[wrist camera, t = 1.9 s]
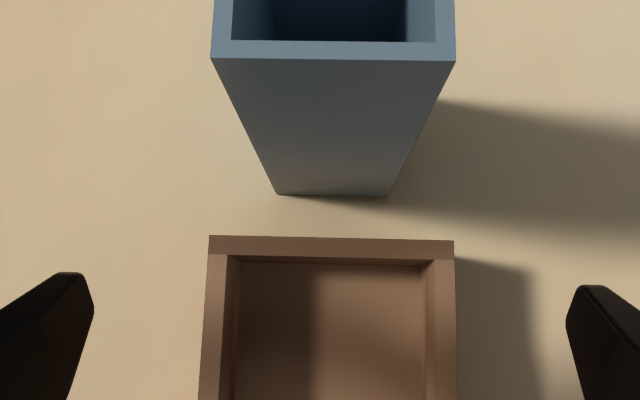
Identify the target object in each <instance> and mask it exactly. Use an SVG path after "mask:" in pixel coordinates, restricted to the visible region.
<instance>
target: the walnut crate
mask: <svg viewBox="0 0 640 400" xmlns="http://www.w3.org/2000/svg"><path fill="white" fill-rule="evenodd" d="M198 400H458V377H457V340H456V303H455V266H454V241H449V240H405V239H361V238H317V237H273V236H229V235H209V247H208V262H207V276H206V290H205V305H204V319H203V333H202V348H201V362H200V376H199V390H198Z"/></svg>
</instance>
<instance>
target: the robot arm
mask: <svg viewBox="0 0 640 400" xmlns="http://www.w3.org/2000/svg"><path fill="white" fill-rule="evenodd" d="M93 315H94V304H93V301H92V298H91V295H90V292H89V289H88V286H87V283H86V280H85V277H84V276H83V275H82V274H81V273H78V272H59V273H56V274H55V275H53V276H51V277H50V278H48V279H47V280H45V281H44V282H42V283H41V284H39V285H37V286H36V287H34V288H33V289H31V290H30V291H28V292H27V293H25V294H24V295H22V296H20V297H19V298H17V299H16V300H14V301H13V302H11V303H10V304H8V305H7V306H5V307H3V308H2V309H0V400H66V399H67V396H68V394H69V391H70V388H71V386H72V383H73V380H74V377H75V373H76V370H77V367H78V364H79V361H80V358H81V354H82V351H83V348H84V345H85V342H86V338H87V335H88V332H89V329H90V326H91V323H92V319H93ZM566 331H567V335H568V339H569V343H570V346H571V350H572V354H573V358H574V362H575V365H576V369H577V373H578V377H579V380H580V384H581V388H582V392H583V396H584V399H585V400H640V311H639V310H638V309H637V308H635V307H634V306H632V305H631V304H630V303H628V302H627V301H625V300H624V299H623V298H621V297H620V296H618V295H617V294H616V293H614V292H613V291H611V290H610V289H609V288H607V287H605V286H602V285H581V286H579V287H578V288H577V290H576V292H575V294H574V297H573V300H572V302H571V305H570V308H569V310H568V313H567V316H566Z"/></svg>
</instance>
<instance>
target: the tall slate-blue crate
mask: <svg viewBox="0 0 640 400" xmlns="http://www.w3.org/2000/svg"><path fill="white" fill-rule="evenodd" d="M210 58H211V61H212V63H213V65H214V67H215V69H216V71H217V73H218V75H219V77H220V79H221V81H222V83H223V85H224V87H225V89H226V91H227V93H228V95H229V98H230V100H231V102H232V104H233V106H234V108H235V110H236V112H237V114H238V116H239V118H240V120H241V122H242V124H243V126H244V128H245V130H246V132H247V135H248V137H249V139H250V141H251V143H252V145H253V147H254V149H255V151H256V153H257V155H258V157H259V159H260V161H261V163H262V165H263V167H264V169H265V172H266V174H267V176H268V178H269V180H270V182H271V184H272V186H273V188H274V190H275V192H276V194H291V195H340V196H388V195H389V193H390V191H391V189H392V187H393V185H394V183H395V181H396V179H397V177H398V175H399V173H400V171H401V169H402V167H403V165H404V163H405V161H406V159H407V157H408V155H409V153H410V151H411V149H412V147H413V145H414V143H415V141H416V139H417V138H418V136H419V134H420V132H421V130H422V128H423V126H424V124H425V122H426V120H427V118H428V116H429V114H430V112H431V110H432V108H433V106H434V104H435V102H436V100H437V98H438V96H439V94H440V92H441V90H442V88H443V86H444V84H445V82H446V80H447V78H448V76H449V74H450V72H451V70H452V68H453V66H454V64H455V62H456V40H455V7H454V0H214V13H213V26H212V39H211V53H210Z"/></svg>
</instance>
